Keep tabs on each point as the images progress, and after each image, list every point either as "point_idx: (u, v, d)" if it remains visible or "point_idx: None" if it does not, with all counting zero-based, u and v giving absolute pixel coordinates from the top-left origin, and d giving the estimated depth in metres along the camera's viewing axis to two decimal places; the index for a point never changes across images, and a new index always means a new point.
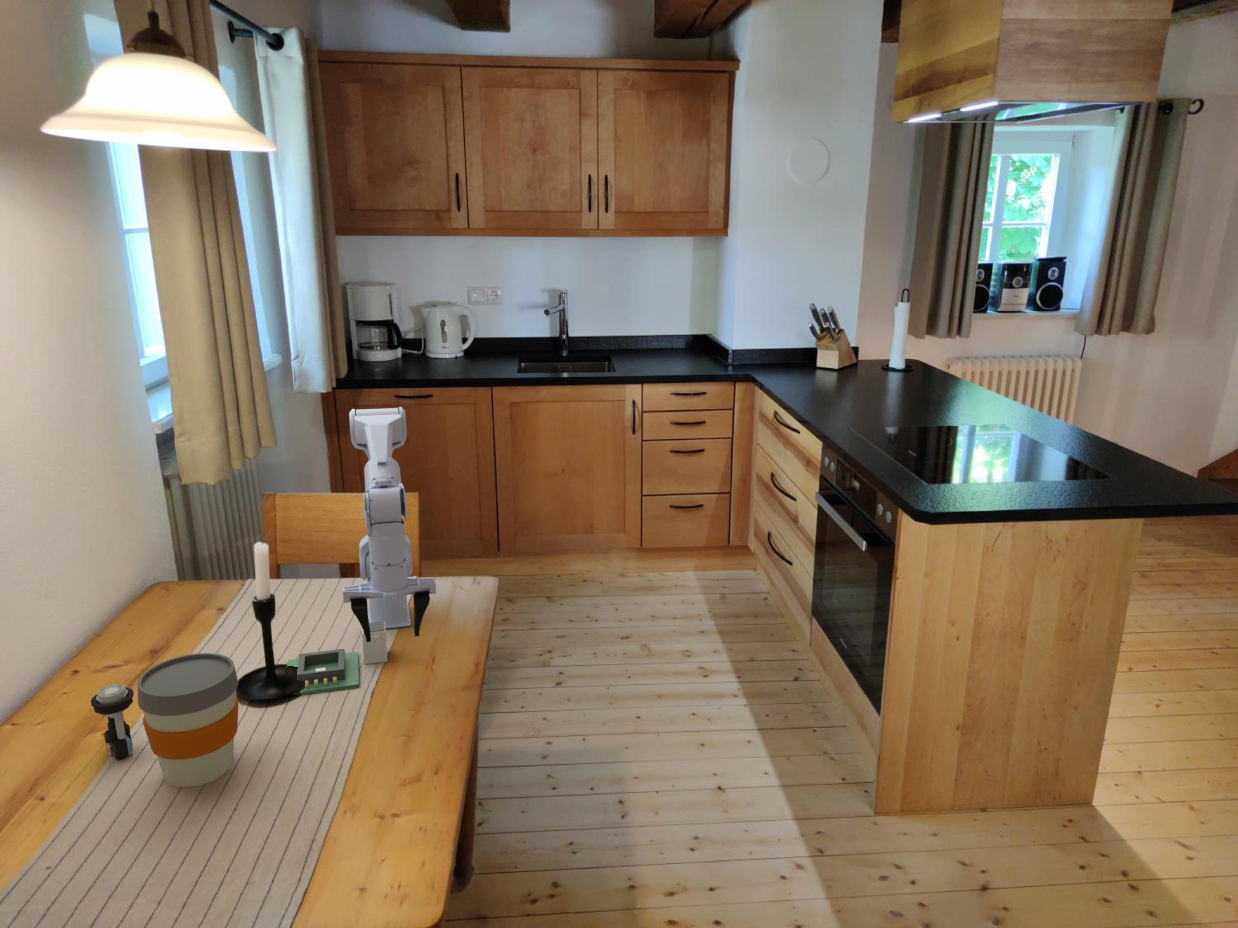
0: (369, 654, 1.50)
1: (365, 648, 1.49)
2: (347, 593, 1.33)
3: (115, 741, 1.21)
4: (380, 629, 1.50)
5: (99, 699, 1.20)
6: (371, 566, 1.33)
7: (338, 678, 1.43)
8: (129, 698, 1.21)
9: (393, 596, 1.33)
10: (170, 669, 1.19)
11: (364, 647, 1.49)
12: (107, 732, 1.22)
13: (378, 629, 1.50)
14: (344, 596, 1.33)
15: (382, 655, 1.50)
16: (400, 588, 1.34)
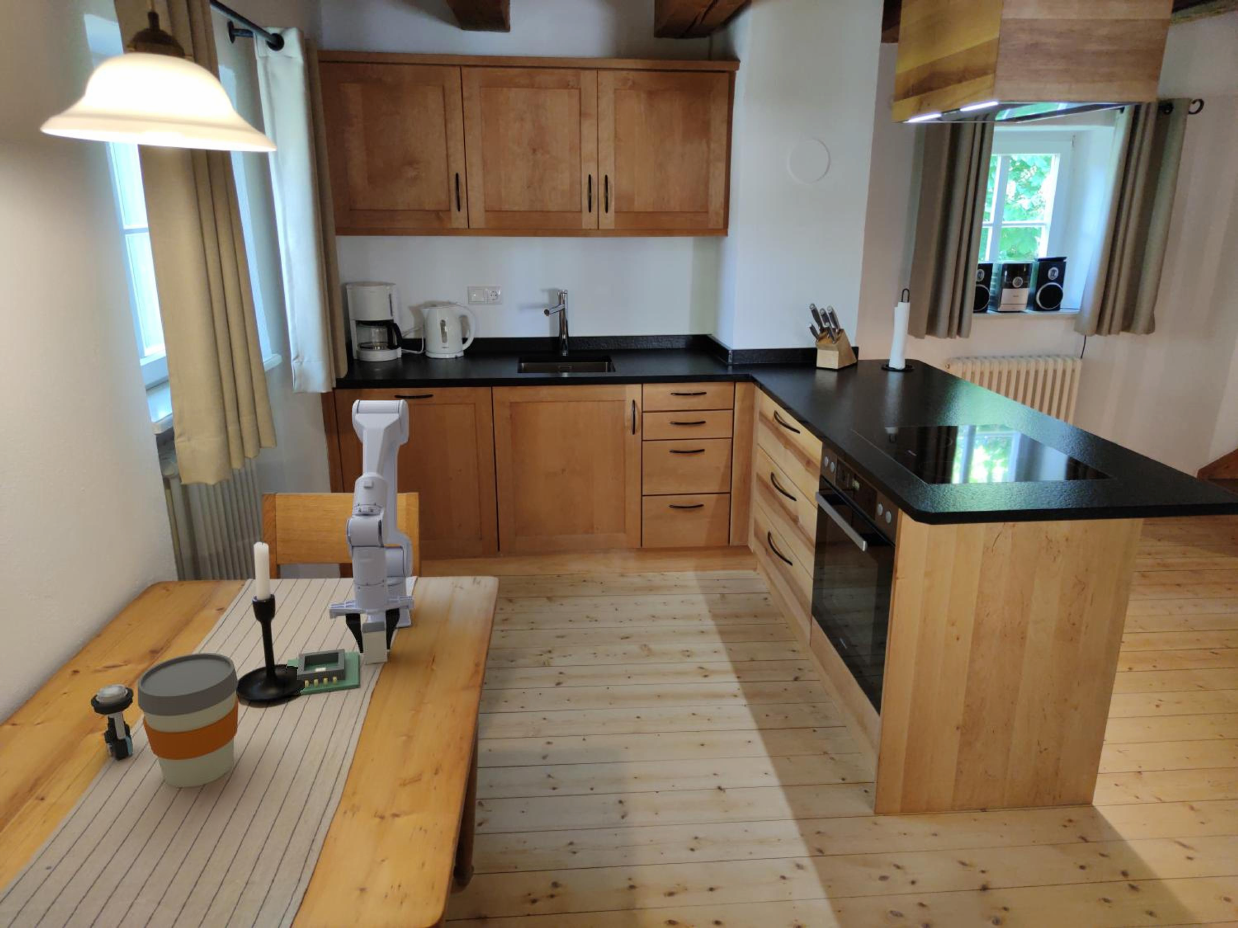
0: (369, 654, 1.50)
1: (365, 648, 1.49)
2: (333, 610, 1.47)
3: (115, 741, 1.21)
4: (380, 629, 1.50)
5: (99, 699, 1.20)
6: (355, 585, 1.47)
7: (338, 678, 1.43)
8: (129, 698, 1.21)
9: (375, 613, 1.46)
10: (170, 669, 1.19)
11: (364, 647, 1.49)
12: (107, 732, 1.22)
13: (378, 629, 1.50)
14: (330, 612, 1.47)
15: (382, 655, 1.50)
16: (381, 605, 1.48)
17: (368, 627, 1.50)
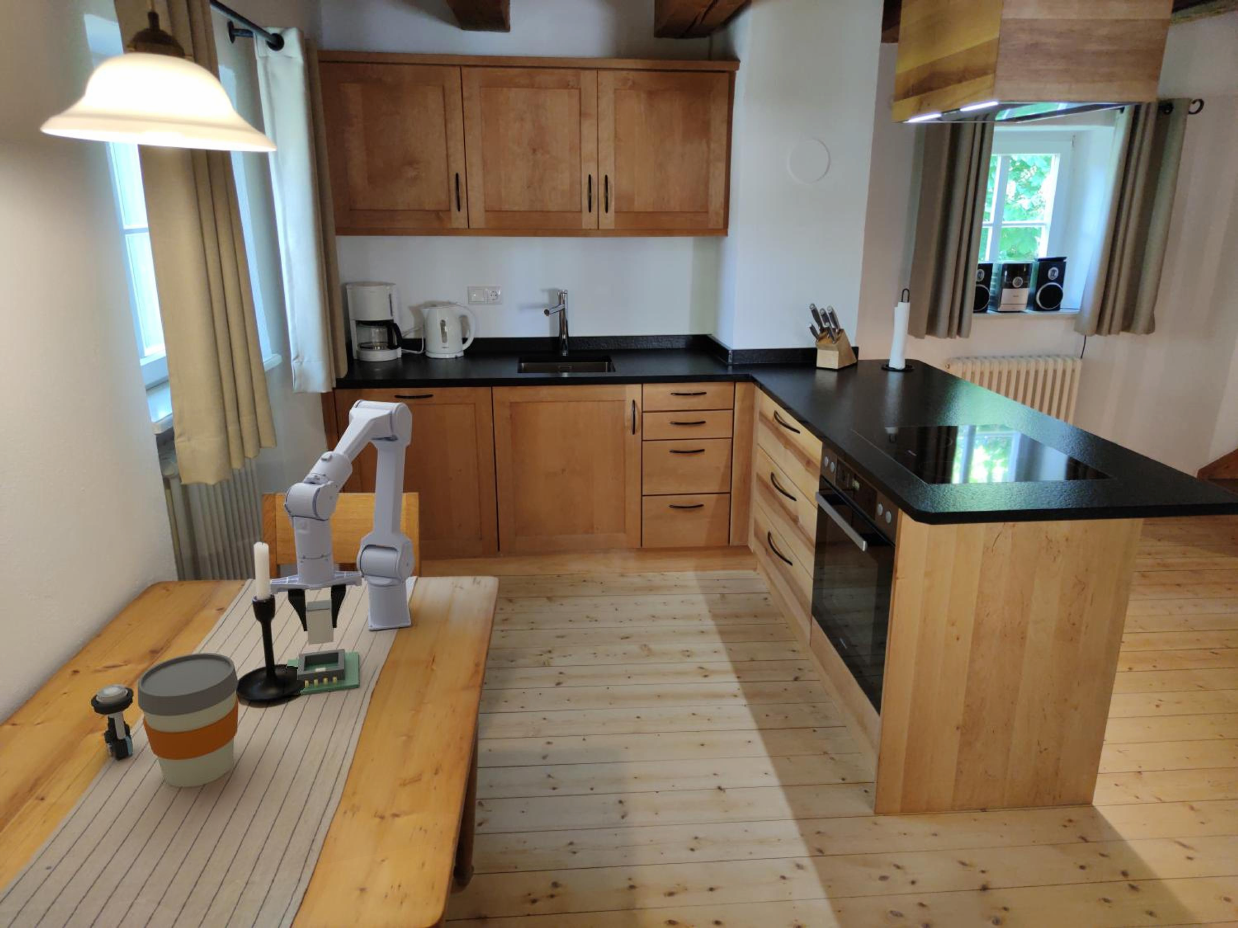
0: (313, 634, 1.41)
1: (309, 628, 1.41)
2: (274, 585, 1.39)
3: (115, 741, 1.21)
4: (325, 607, 1.41)
5: (99, 699, 1.20)
6: (297, 559, 1.39)
7: (338, 678, 1.43)
8: (129, 698, 1.21)
9: (318, 588, 1.38)
10: (170, 669, 1.19)
11: (308, 627, 1.41)
12: (107, 732, 1.22)
13: (323, 607, 1.41)
14: (271, 588, 1.39)
15: (328, 635, 1.42)
16: (325, 580, 1.40)
17: (313, 605, 1.42)
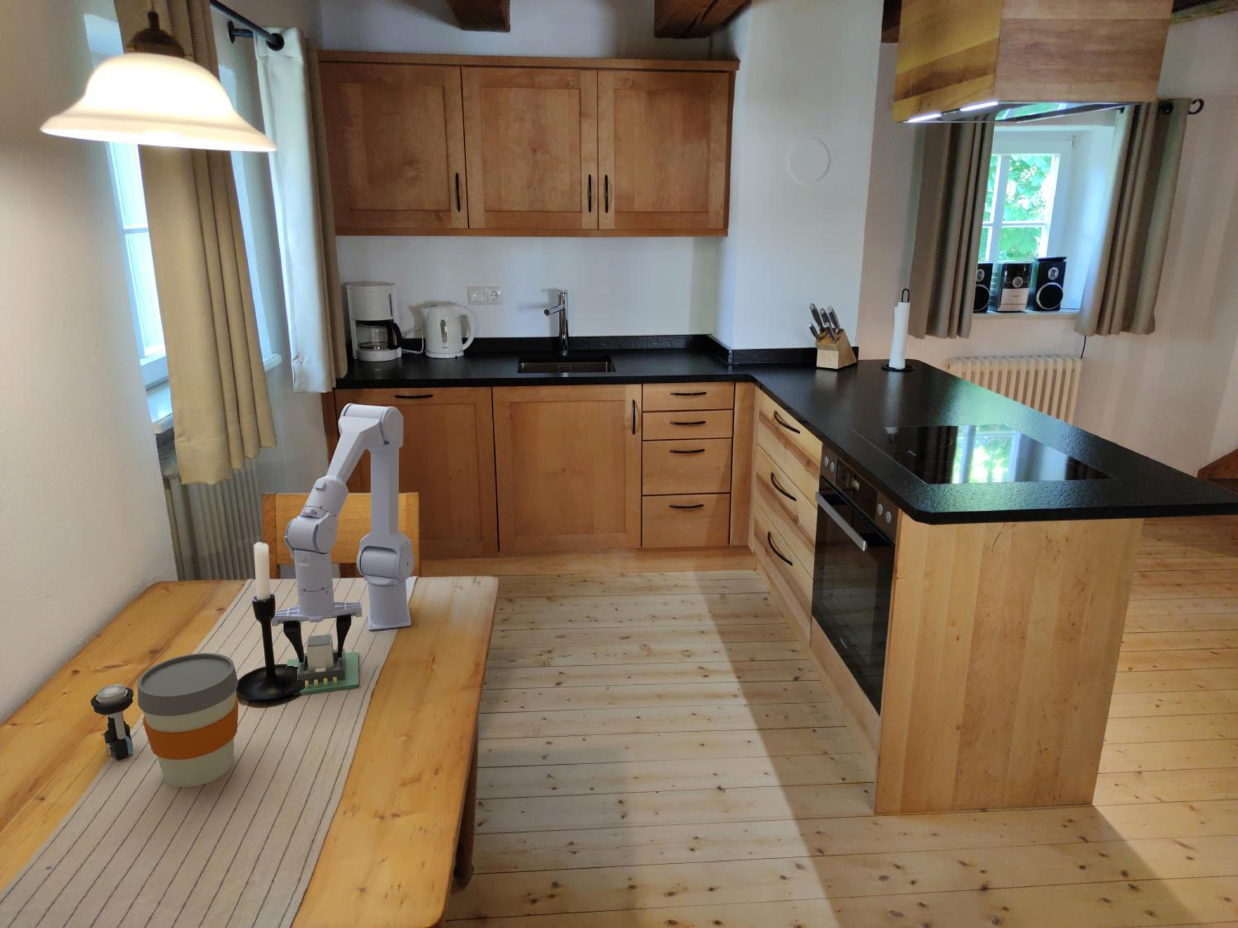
0: (314, 668, 1.43)
1: (309, 663, 1.42)
2: (275, 617, 1.40)
3: (115, 741, 1.21)
4: (326, 642, 1.43)
5: (99, 699, 1.20)
6: (298, 591, 1.40)
7: (338, 678, 1.43)
8: (129, 698, 1.21)
9: (318, 620, 1.39)
10: (170, 669, 1.19)
11: (308, 662, 1.42)
12: (107, 732, 1.22)
13: (324, 642, 1.43)
14: (272, 620, 1.40)
15: None
16: (326, 612, 1.41)
17: (313, 640, 1.44)
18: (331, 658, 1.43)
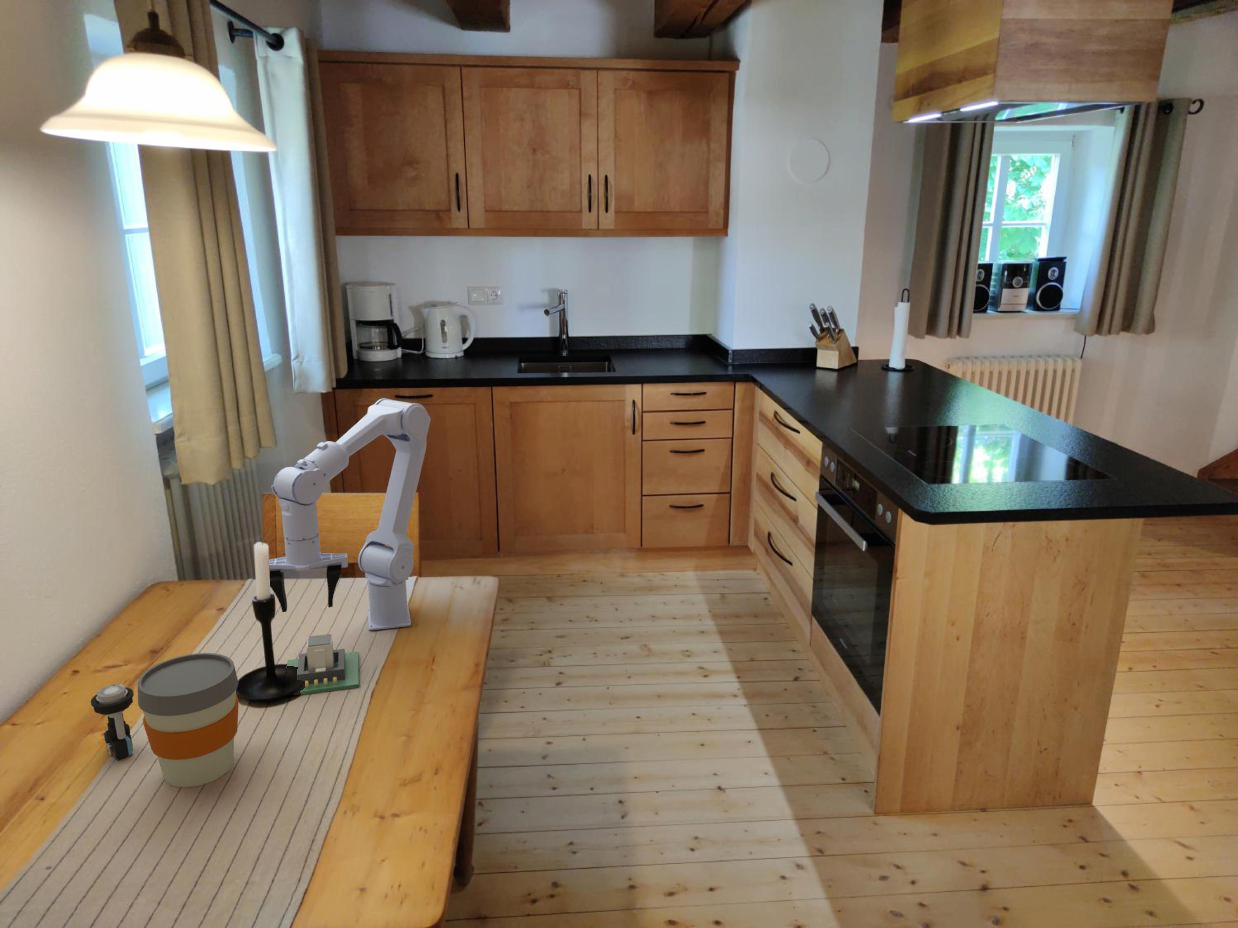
0: (314, 668, 1.43)
1: (309, 663, 1.42)
2: None
3: (115, 741, 1.21)
4: (326, 642, 1.43)
5: (99, 699, 1.20)
6: (285, 541, 1.44)
7: (338, 678, 1.43)
8: (129, 698, 1.21)
9: (305, 569, 1.43)
10: (170, 669, 1.19)
11: (308, 662, 1.42)
12: (107, 732, 1.22)
13: (324, 642, 1.43)
14: None
15: None
16: (312, 561, 1.45)
17: (313, 640, 1.44)
18: (331, 658, 1.43)
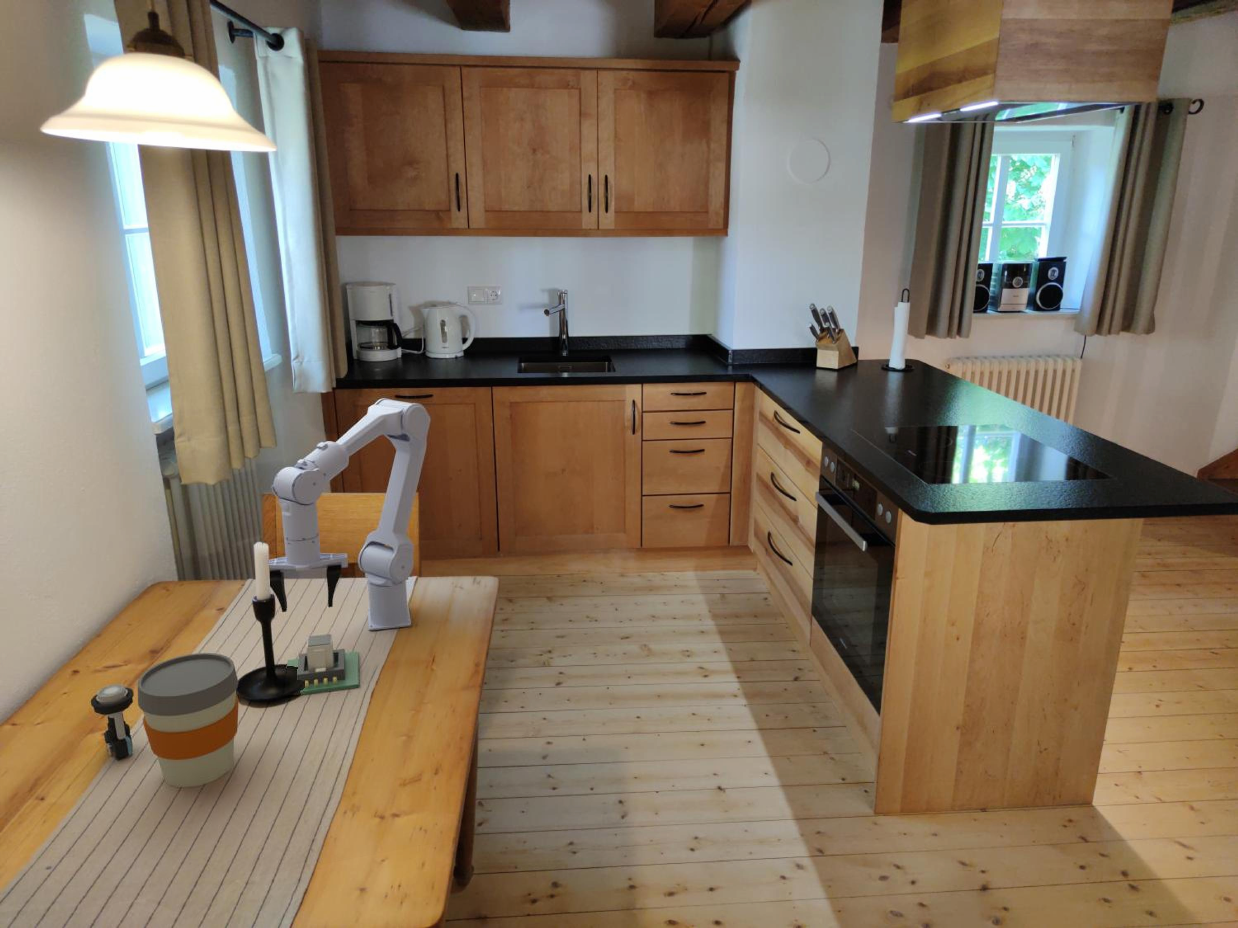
0: (314, 668, 1.43)
1: (309, 663, 1.42)
2: None
3: (115, 741, 1.21)
4: (326, 642, 1.43)
5: (99, 699, 1.20)
6: (285, 541, 1.44)
7: (338, 678, 1.43)
8: (129, 698, 1.21)
9: (304, 569, 1.43)
10: (170, 669, 1.19)
11: (308, 662, 1.42)
12: (107, 732, 1.22)
13: (324, 642, 1.43)
14: None
15: None
16: (312, 561, 1.45)
17: (313, 640, 1.44)
18: (331, 658, 1.43)
